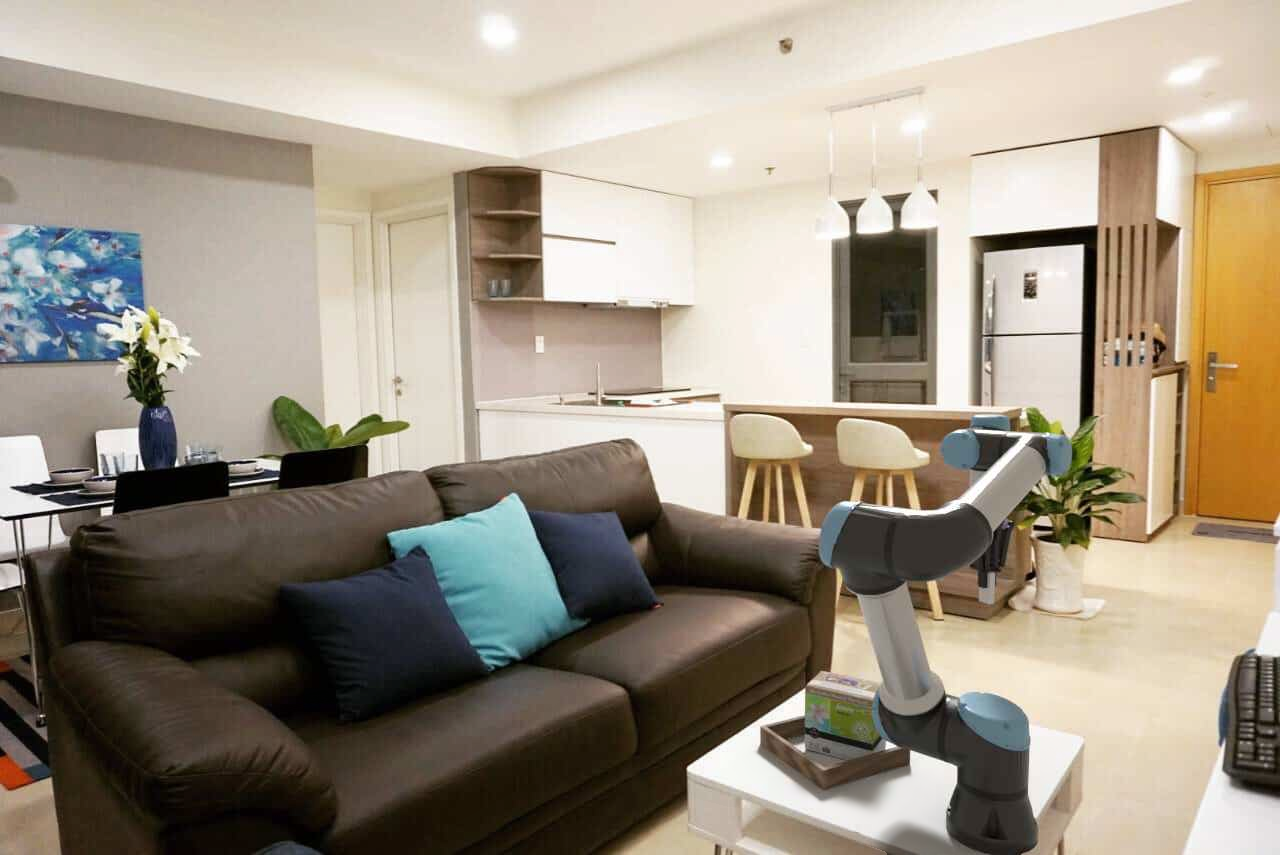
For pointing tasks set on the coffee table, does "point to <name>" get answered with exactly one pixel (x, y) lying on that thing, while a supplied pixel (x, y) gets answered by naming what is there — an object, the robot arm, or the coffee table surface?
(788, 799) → the coffee table surface
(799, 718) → the frame
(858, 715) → the tea box
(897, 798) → the coffee table surface
